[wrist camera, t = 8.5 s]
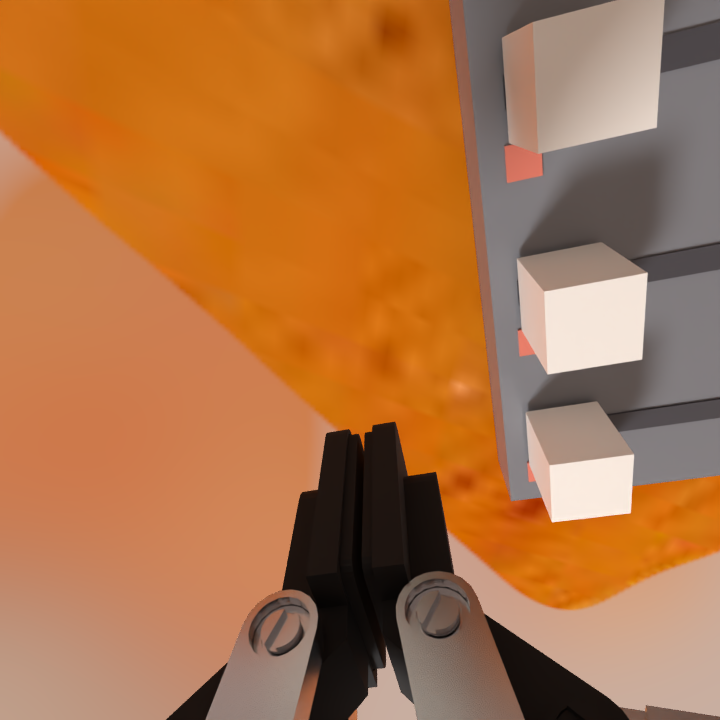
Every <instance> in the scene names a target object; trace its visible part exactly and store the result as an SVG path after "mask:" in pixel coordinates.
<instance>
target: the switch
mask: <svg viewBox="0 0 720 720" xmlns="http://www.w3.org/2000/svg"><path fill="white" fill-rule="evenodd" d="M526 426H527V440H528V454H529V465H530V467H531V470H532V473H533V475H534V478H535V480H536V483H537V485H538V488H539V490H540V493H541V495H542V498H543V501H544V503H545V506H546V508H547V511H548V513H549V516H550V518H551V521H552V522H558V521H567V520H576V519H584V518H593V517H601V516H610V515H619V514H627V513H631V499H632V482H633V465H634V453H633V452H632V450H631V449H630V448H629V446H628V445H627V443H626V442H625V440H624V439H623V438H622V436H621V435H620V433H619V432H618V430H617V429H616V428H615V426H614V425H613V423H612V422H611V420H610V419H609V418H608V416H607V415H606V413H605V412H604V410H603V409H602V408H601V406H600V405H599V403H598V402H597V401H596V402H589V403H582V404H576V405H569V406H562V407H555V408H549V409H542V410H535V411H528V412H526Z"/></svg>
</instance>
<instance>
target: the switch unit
mask: <svg viewBox="0 0 720 720" xmlns="http://www.w3.org/2000/svg"><path fill="white" fill-rule="evenodd" d="M612 1H615V0H449V4H450V13H451V23H452V32H453V41H454V51H455V60H456V69H457V78H458V88H459V97H460V106H461V116H462V125H463V134H464V143H465V153H466V162H467V171H468V181H469V190H470V199H471V208H472V218H473V227H474V236H475V246H476V255H477V264H478V273H479V283H480V292H481V301H482V310H483V320H484V329H485V338H486V348H487V357H488V366H489V375H490V385H491V394H492V403H493V413H494V422H495V431H496V440H497V450H498V459H499V464H500V467H501V470H502V473H503V476H504V480H505V483H506V486H507V489H508V492H509V496H510V499H511V501H515V500H523V499H531V498H539V497H542V495H541V493H540V490H539V488H538V485H537V483H536V480H535V478H534V475H533V473H532V470H531V467H530V465H529V454H528V440H527V426H526V412H528V411H535V410H542V409H549V408H555V407H562V406H569V405H576V404H582V403H589V402H596V401H597V402H598V403H599V405H600V406H601V408H602V409H603V410H604V412H605V413H606V415H607V416H608V418H609V419H610V420H611V422H612V423H613V425H614V426H615V428H616V429H617V430H618V432H619V433H620V435H621V436H622V438H623V439H624V440H625V442H626V443H627V445H628V446H629V448H630V449H631V450H632V452H633V453H634V465H633V482H632V486H637V485H645V484H653V483H661V482H669V481H677V480H685V479H693V478H701V477H709V476H717V475H720V0H665V4H664V20H663V35H662V51H661V67H660V83H659V99H658V115H657V128H653V129H648V130H644V131H639V132H635V133H630V134H626V135H621V136H617V137H612V138H608V139H603V140H599V141H594V142H590V143H585V144H581V145H576V146H572V147H567V148H563V149H558V150H554V151H549V152H545V153H540V154H537V153H534V152H532V151H529V150H526V149H524V148H521V147H518V146H515V145H513V144H510V143H509V137H508V122H507V108H506V93H505V78H504V63H503V49H502V37H504V36H506V35H508V34H510V33H512V32H514V31H516V30H518V29H520V28H522V27H524V26H526V25H528V24H530V23H532V22H535V21H539V20H542V19H546V18H550V17H554V16H558V15H562V14H565V13H569V12H573V11H577V10H581V9H585V8H589V7H592V6H596V5H600V4H604V3H608V2H612ZM599 242H602V243H604V244H605V245H607V246H608V247H610V248H611V249H613V250H614V251H616V252H617V253H619V254H620V255H622V256H623V257H625V258H626V259H628V260H629V261H631V262H632V263H634V264H635V265H637V266H638V267H640V268H641V269H643V270H644V271H646V272H647V273H648V275H647V291H646V307H645V322H644V338H643V354H642V360H636V361H630V362H623V363H617V364H611V365H604V366H598V367H592V368H586V369H579V370H573V371H567V372H560V373H554V374H547V373H546V371H545V369H544V367H543V366H542V364H541V362H540V361H539V359H538V357H537V356H536V354H535V352H534V350H533V349H532V347H531V345H530V344H529V342H528V340H527V339H526V337H525V335H524V333H523V332H522V328H521V313H520V298H519V284H518V269H517V258H521V257H526V256H531V255H536V254H542V253H547V252H552V251H557V250H562V249H568V248H573V247H578V246H583V245H588V244H593V243H599Z"/></svg>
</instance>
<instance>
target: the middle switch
mask: <svg viewBox="0 0 720 720" xmlns="http://www.w3.org/2000/svg"><path fill="white" fill-rule="evenodd" d="M517 269H518V284H519V298H520V313H521V328H522V332H523V333H524V335H525V337H526V339H527V340H528V342H529V344H530V345H531V347H532V349H533V350H534V352H535V354H536V356H537V357H538V359H539V361H540V362H541V364H542V366H543V367H544V369H545V371H546V373H547V374H554V373H560V372H567V371H573V370H579V369H586V368H592V367H598V366H604V365H611V364H617V363H623V362H630V361H636V360H642V354H643V338H644V322H645V307H646V291H647V275H648V273H647V272H646V271H644V270H643V269H641V268H640V267H638V266H637V265H635V264H634V263H632V262H631V261H629V260H628V259H626V258H625V257H623V256H622V255H620V254H619V253H617V252H616V251H614V250H613V249H611V248H610V247H608V246H607V245H605V244H604V243H602V242H599V243H593V244H588V245H583V246H578V247H573V248H568V249H562V250H557V251H552V252H547V253H542V254H536V255H531V256H526V257H521V258H517Z"/></svg>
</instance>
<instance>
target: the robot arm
mask: <svg viewBox="0 0 720 720" xmlns="http://www.w3.org/2000/svg"><path fill="white" fill-rule="evenodd" d="M386 647H387V650H388V654H389V657H390V660H391V663H392V666H393V668H394V671H395V674H396V678H397V681H398V684H399V687H400V690H401V692H402V693H403V694H404V695H405V696H406V697H407V698H408V699H409V700H410V701H411V702H412V703H413V704H414V706H415V710H416V716H417V720H720V717H718V716H711V715H705V714H698V713H692V712H686V711H679V710H673V709H666V708H660V707H654V706H647V705H646V708H645V711H640V710H634V709H628V708H621V707H618V706H617V705H616V704H615V703H614V702H613V701H611V700H610V699H609V698H608V697H607V696H605V695H604V694H602V693H601V692H599V691H598V690H596V689H595V688H593V687H592V686H590V685H589V684H587V683H586V682H584V681H583V680H581V679H580V678H578V677H577V676H575V675H574V674H573V673H571V672H569V671H568V670H567V669H565V668H564V667H562V666H560V665H559V664H558V663H556V662H555V661H553V660H552V659H550V658H549V657H547V656H546V655H544V654H543V653H541V652H540V651H539V650H537V649H535V648H534V647H533V646H531V645H530V644H528V643H527V642H525V641H524V640H522V639H521V638H519V637H518V636H516V635H515V634H514V633H512V632H510V631H509V630H507V629H506V628H505V627H503V626H502V625H500V624H499V623H497V622H496V621H494V620H493V619H491V618H490V617H488V616H487V615H485V614H484V613H483V610H482V608H481V605H480V602H479V600H478V597H477V596H476V594H475V592H474V590H473V589H472V587H471V586H470V585H469V584H468V583H467V582H466V581H465V580H463V579H462V578H461V577H458V576H456V575H454V570H453V564H452V558H451V552H450V546H449V541H448V535H447V529H446V523H445V518H444V512H443V507H442V501H441V496H440V490H439V485H438V480H437V475H436V472H433V473H426V474H420V475H413V476H408V475H407V470H406V466H405V461H404V457H403V452H402V448H401V444H400V439H399V435H398V430H397V426H396V423H395V422H390V423H384V424H378V425H373V427H372V432H367V433H365V441H364V450H363V446H362V442H361V439H360V436H359V434H354V435H352V434H351V432H350V430H349V429H348V430H342V431H336V432H330V433H327V434H326V437H325V445H324V451H323V459H322V465H321V472H320V479H319V486H318V490H313V491H307V492H302V494H301V495H300V499H299V503H298V509H297V513H296V519H295V524H294V530H293V535H292V540H291V546H290V551H289V556H288V561H287V567H286V573H285V577H284V583H283V589H282V591H278V592H276V593H274V594H271V595H269V596H267V597H266V598H265V599H263V600H262V601H260V602H259V603H258V604H257V605H256V606H255V607H254V608H253V609H252V610H251V612H250V613H249V614H248V616H247V618H246V620H245V621H244V624H243V626H242V628H241V631H240V633H239V636H238V638H237V641H236V643H235V646H234V649H233V651H232V654H231V656H230V659H229V661H228V663H226V664H225V665H224V666H223V667H222V668H221V669H220V670H219V671H218V672H217V673H216V674H215V675H214V676H212V677H211V678H210V679H209V680H208V681H207V682H206V683H205V684H204V685H203V686H202V687H201V688H200V689H199V690H197V691H196V692H195V693H194V694H193V695H192V696H191V697H190V698H189V699H188V700H187V701H186V702H185V703H183V704H182V705H181V706H180V707H179V708H178V709H177V710H176V711H175V712H174V713H173V714H172V715H171V716H169V718H167V719H166V720H357V708H358V706H359V705H360V704H361V703H362V702H363V700H364V699H365V698H366V697H367V696H368V688H370V687H377V669H378V668H385V667H386Z"/></svg>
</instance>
